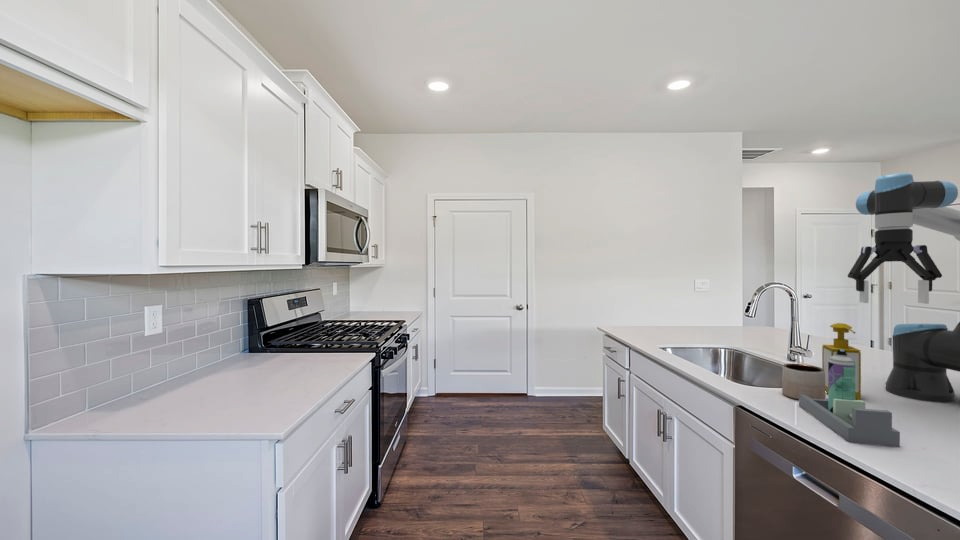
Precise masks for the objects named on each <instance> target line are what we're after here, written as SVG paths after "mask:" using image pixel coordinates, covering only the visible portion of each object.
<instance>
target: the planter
mask: <svg viewBox="0 0 960 540" xmlns="http://www.w3.org/2000/svg"><path fill="white" fill-rule="evenodd" d="M781 376H782V377H781V378H782V387H781V388H782V390H781V392H782V394H784V396H786V397H787V398H790V399H793V400H796V401H799V394H801V395H806V396H808V397H809V398H812V399H826V393H825V370H824V369H822V368H821V367H819V366H815V365H810V364H804V363H784V364H782V375H781Z"/></svg>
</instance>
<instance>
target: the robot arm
mask: <svg viewBox="0 0 960 540" xmlns="http://www.w3.org/2000/svg"><path fill="white" fill-rule="evenodd" d="M874 183H875V184H874V190H871V191H868V192H863V193H861V194H859V196H858V197H857V198H856V201H855V207H856V210H857V211H858V212H859V213H860V214H861V215H866V216H867V215H870V216H872V215H874V229H876V231H874V244H875V246H874V247H872V246H868V245H867V246H862V247H861V249H860V254H859V256H858V257H857V259H856V261H855V263H854V265H852V266H851V269H850V270H849V272H848V274H847V277H848V278H849V279H853V280H854V281H855V290H856V292H859V293H858V294H859V295H858V296H859V301H858V302H859V303H862V304H869V280H866V279H868V277H869V276H870V275H871V274H872V273H874V271H875V270H877V269H878V268H879V266H881V265H882V264H884V263H885V262H888V263H889V262H902V263H904V264H905V265H907V267H909V269H910V270H912V271H913V272H914V273H915V274H916V275H917V276H918V277H920V278H921V279H918V280H917V303H919V304H923V305H924V304H925V305H927V304H928V305H930V292H932V291H933V281H935V280H936V279H940V278H942V277H943V274H942V272H941V271H940V270H939V268H938V267H937V264H936V263H935V262H934V260H933V259H932V257H931V256H930V254H929V253H928V246H927V245H925V244H922V245H921V244H920V245H915V246H913V245H912V243H913V240H914V238H913V235H914V233H913V229H911V228H913V226H914V225H915V226H919V227H922V228H926V229H930V230H932V231H937V232H940V233H943V234H946V235H949V236H953V237H954V238H955V240H957V241H958V242H960V210H959V209H954V208H951V207H948V206H950V205H953V203H954V202H955V201H956V200H957V198H958V197H959V189H958V187H957V186H956V185H955V184H954V183H952V182H950V181H946V180H945V181H943V180H933V181H930V180H929V181H915V180H914V177H913V174H912V173H907V172H906V173H905V172H904V173H894V174H893V173H892V174H888V175H887V174H886V175H882V176H879V177H877V178H876V180H875V182H874ZM874 253H875V254H876V255H875V256H874V257H873V258H872V259H871V261H870V262H869V263H868V264H867V262H868V261H869V258H871V255H873V254H874ZM912 253H914V254H916V257H917V259H918V260H919V262H920V263H921V264H920V263H919V262H918V261H917V260H916V258H915V257H914V256H913V255H911V254H912ZM866 264H867V265H866ZM892 332H893V333H892V369H891V371H890V373H889V375H888V377H887V380H886V381H885V391H886V392H889V393H891V394H893V395H896V396H900V397H905V398H910V399H912V400H918V401H926V402H937V403H951V402H955V401H956V393H955V390H954V388H953V385H952V383H951V381H950V379H949V377H948V374H947V370H951V371H955V372H960V321H958V323H957V325H956V326H955V328H954V329H953V330H950V329H949V327H947V325H946V324H944V323H943V324H942V323H900V324H896V325H895V326H894V327H893V331H892Z"/></svg>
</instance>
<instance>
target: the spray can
mask: <svg viewBox="0 0 960 540" xmlns="http://www.w3.org/2000/svg"><path fill="white" fill-rule="evenodd" d="M827 396H828V397H827V400H828V409H827V410H829V411H830V412H832V413H833V399H847V400H856V399H855V360H854V359H852V358H850V357H849V355H847V353H846V350H843V349H838V351H837V353H836V354H835V355H833V356H831V357H829V360H828V394H827Z"/></svg>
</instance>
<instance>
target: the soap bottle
mask: <svg viewBox="0 0 960 540" xmlns="http://www.w3.org/2000/svg"><path fill="white" fill-rule="evenodd" d="M829 327H830V328H832V332H834V333H837V338H833V344H822V346H821V347H822V348H821V350H822V351H821V352H822V363H821V365H822V366H821V367H822V369H824V370H825V391H826V392H827V393H828V360H829V357H831V356H833V355H835V354H836V353H837V351H838V349H843V350H846V353H847V355H849V357H850V358H852V359H854V360H855V400H856V399H858V400H862V399H861V396H862V395H861V394H862V393H861V392H862V390H861V388H862V387H861V386H862V385H861V384H862V383H861V382H862V381H861V380H862V379H861V378H862V376H861V375H862V374H861V373H862V372H861V371H862V368H861V367H862V363H861V362H862V357H861V355H862V354H861V351H862V350H860V349H858V348H856V347H853V346H851V345H849V339H846V338H845V333H846V334H848V333H850V332H851V333H852V334H856V331H854V330H853V327H852V326H851V325H849V324H846V323H844V322H843V323H841V322H837V323H833V324H830V325H829ZM827 393H826V394H827Z"/></svg>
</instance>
